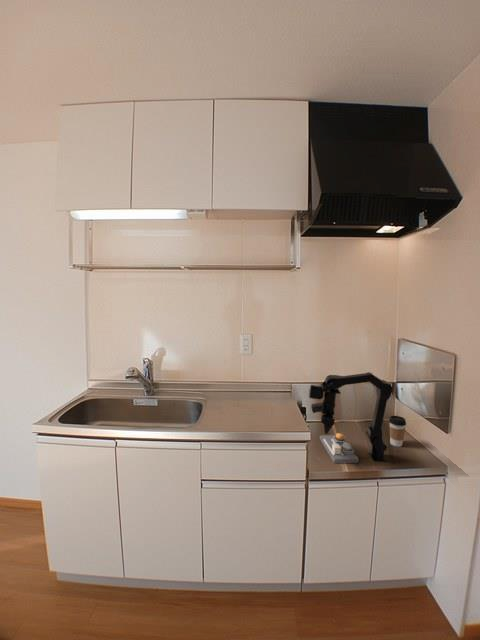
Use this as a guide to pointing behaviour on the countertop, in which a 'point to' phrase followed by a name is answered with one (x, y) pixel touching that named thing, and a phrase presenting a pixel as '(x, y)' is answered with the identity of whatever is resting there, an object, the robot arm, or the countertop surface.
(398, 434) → the coffee cup
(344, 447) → the grey button
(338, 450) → the slider knob
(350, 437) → the countertop surface
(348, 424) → the countertop surface
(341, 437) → the orange button
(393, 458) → the countertop surface
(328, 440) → the control panel
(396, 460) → the countertop surface
